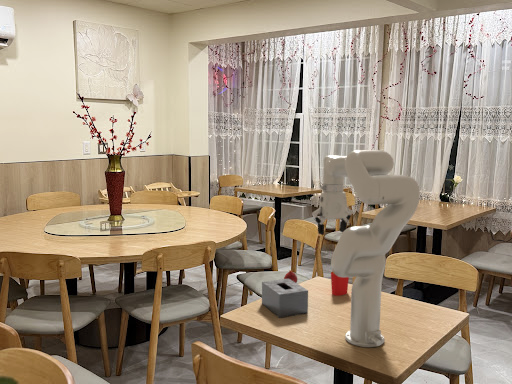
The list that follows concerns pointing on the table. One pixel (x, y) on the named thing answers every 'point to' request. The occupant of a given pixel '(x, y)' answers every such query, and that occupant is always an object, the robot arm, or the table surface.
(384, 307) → the table surface
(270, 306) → the grey slotted box
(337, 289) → the french fries
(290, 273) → the onion
